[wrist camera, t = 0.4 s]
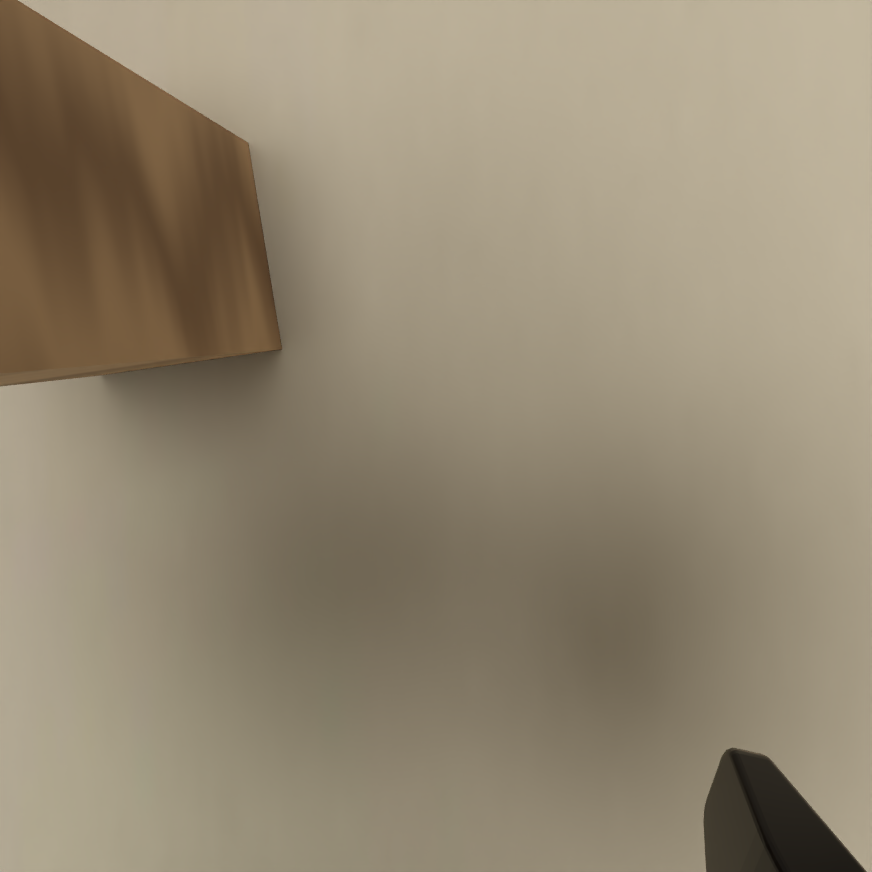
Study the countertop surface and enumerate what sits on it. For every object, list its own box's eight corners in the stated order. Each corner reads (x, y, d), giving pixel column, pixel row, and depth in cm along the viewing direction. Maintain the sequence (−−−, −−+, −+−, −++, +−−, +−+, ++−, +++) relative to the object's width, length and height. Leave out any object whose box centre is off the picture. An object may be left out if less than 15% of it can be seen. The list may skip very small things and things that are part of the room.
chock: (281, 349, 22) (-11, 374, 11) (100, 375, 23) (-352, 425, 12) (248, 143, 22) (-107, -77, 10) (61, 178, 23) (-463, 18, 11)
